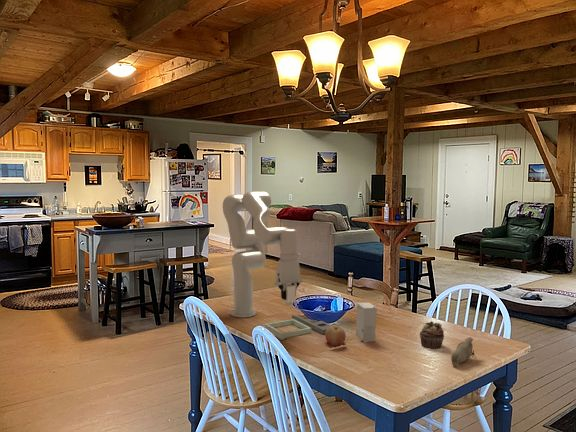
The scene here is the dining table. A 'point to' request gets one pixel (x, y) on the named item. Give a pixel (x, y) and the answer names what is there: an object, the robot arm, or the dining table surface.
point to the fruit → (335, 335)
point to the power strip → (312, 323)
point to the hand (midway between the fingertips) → (288, 298)
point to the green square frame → (283, 335)
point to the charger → (290, 294)
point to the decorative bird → (462, 352)
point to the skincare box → (366, 321)
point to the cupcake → (432, 336)
